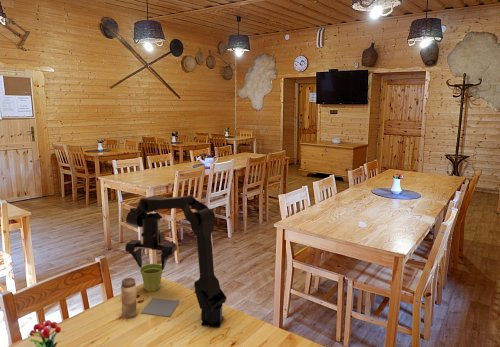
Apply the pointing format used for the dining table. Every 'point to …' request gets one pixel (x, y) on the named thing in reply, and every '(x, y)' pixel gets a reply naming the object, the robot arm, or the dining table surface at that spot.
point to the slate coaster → (160, 307)
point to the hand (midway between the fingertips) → (151, 268)
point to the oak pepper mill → (128, 298)
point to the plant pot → (151, 276)
